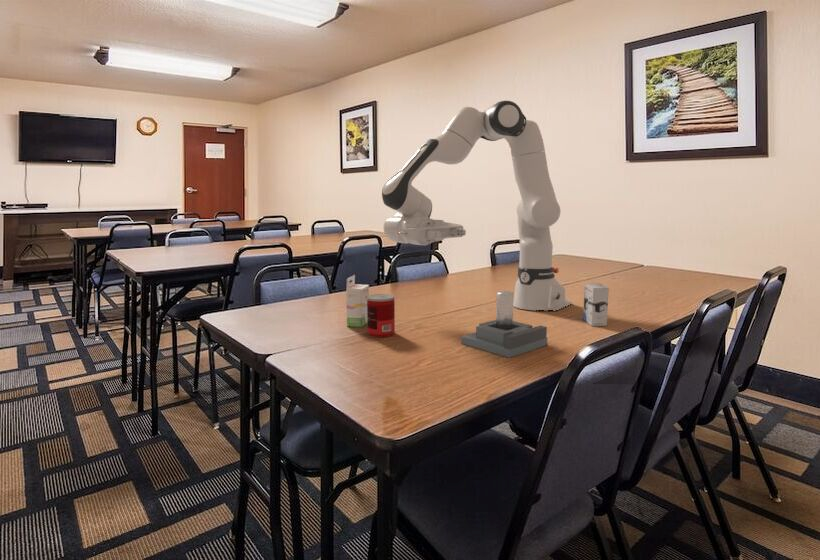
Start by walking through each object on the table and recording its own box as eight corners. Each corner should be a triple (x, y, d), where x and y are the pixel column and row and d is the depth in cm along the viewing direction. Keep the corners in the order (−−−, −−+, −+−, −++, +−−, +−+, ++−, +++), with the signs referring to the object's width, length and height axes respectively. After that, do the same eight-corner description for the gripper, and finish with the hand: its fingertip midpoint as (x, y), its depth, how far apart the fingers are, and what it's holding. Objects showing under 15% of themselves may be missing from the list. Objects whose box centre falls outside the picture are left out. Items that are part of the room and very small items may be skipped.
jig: (499, 332, 147) (500, 315, 146) (547, 345, 135) (547, 326, 134) (461, 343, 137) (461, 325, 136) (509, 357, 125) (509, 337, 124)
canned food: (398, 331, 149) (398, 294, 147) (388, 338, 142) (388, 300, 140) (374, 329, 152) (373, 293, 150) (363, 336, 144) (362, 298, 142)
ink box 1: (362, 327, 154) (361, 279, 151) (346, 326, 155) (345, 278, 152) (370, 320, 162) (369, 274, 160) (355, 320, 163) (354, 274, 161)
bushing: (502, 333, 139) (503, 290, 137) (515, 337, 135) (517, 292, 133) (492, 336, 136) (493, 292, 134) (505, 340, 133) (506, 294, 131)
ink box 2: (582, 319, 162) (584, 283, 160) (597, 319, 162) (599, 283, 160) (590, 326, 154) (592, 287, 152) (607, 326, 154) (609, 287, 152)
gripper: (396, 222, 154) (427, 224, 144) (444, 219, 167) (476, 221, 157) (396, 243, 155) (427, 246, 145) (444, 239, 168) (475, 242, 158)
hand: (453, 233), depth 151 cm, fingers open, 8 cm apart
